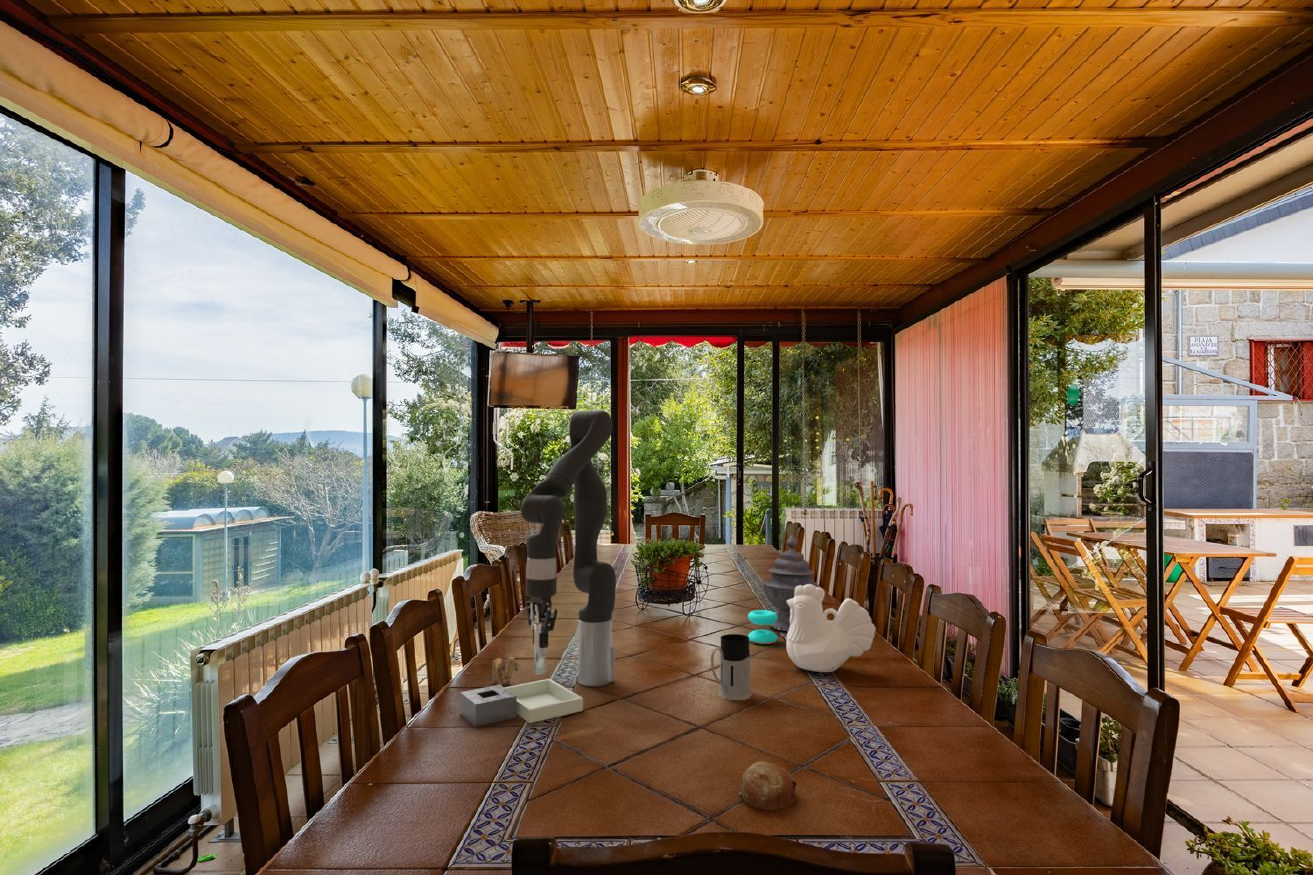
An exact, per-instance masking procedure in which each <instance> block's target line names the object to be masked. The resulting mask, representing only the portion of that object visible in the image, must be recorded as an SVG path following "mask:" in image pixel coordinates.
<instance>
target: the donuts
mask: <svg viewBox="0 0 1313 875" xmlns="http://www.w3.org/2000/svg"><path fill="white" fill-rule="evenodd" d="M747 618H748V620H749V621H750V623H752V624H754V625H761V626H769V625H770V624H773V623H775V622H776V621H777V619H778V613H776V612H774V611H772V610H766V609H757V610H752V611H750V612H749V613H748V615H747ZM747 636H748V637H749V640H750V641H754V642H761V643H766V642H774V641H776V640H777V639H779V637H778V635H777V633H775V632H774V631H773V630H770V629H755V630H752V631H750V632H749V633H748V635H747ZM750 641H749V642H750ZM777 641H778V640H777Z"/></svg>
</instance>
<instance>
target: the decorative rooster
mask: <svg viewBox="0 0 1313 875" xmlns="http://www.w3.org/2000/svg"><path fill="white" fill-rule="evenodd" d="M825 592H826V591H825V590H824V589H823V588H822V587H820V586H819V587H816V586H814V585H812V584H807V585H804V586H802V585H799V586H797V587H796V588H795V596H794V598H792V599H789V600H787V601H786V602H787V604H788V605H789V607H790V624H791V625H790V628H789V631H788V632H787V634H786V637H785V638H786V643H785V644H786V646H785V647H786V652H787V654H788V657H789V658H790V660H791V662H793V664H795V665H796V666H797V667H798V668H800V669H803V670H805V671H807V670H808V671H812V672H818V673H823V672H825V673H824V674H827V673H826V672H832V671H834V672H835V671H836V670H838V669H839V668H840V667H841V666H842V665H843V664H844V663H845V662H846V661H847V660H848V659H849V658H850V657H852V658H853V657H855V658H857V657H858V658H859V657H861V656H862V655H863V654H864V652H867V651H869V650H870V649H871V647H872V644H873V640H874V638H875V634H876V633H875V632H876V626H875V625H874V623H872V618H871V616H870V613H869V612H868V610H867V609H865V608H863V607H862V606H861V605H860V604H859V602H857V601H855V600H853V599H852V598H849V597H848V598H845V599H844V600H843V602H842V603H841V605H840V606H839V608H838V610H835V609H834V608H832V607H831V608H826V609H825V610H823V604H822V602H823V600H824V598H825V594H826V593H825ZM829 614H832V615H833V616H834V618H833V619H832V620H831V619H828V615H829ZM832 673H833V672H832Z"/></svg>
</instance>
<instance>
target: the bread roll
mask: <svg viewBox="0 0 1313 875" xmlns="http://www.w3.org/2000/svg"><path fill="white" fill-rule="evenodd" d="M797 785H798V784H797V781H796V780H795V779H794V778H793V776H792V775H791V773H790V772H789V771H787V770H786V769H785V768H784V767H782V766H780V765H778V764H774V763H769V762H766V761H757V762H754V763H752V764H751V765H750V766H749V767H748V768H747V769H745V771H744V773H743V775H742V780H741V789H740V791H739V796H741V797H742V799H743V801H744V802H746V803H747V805H749V806H750V807H752V808H753V809H758V810H763V811H775V809H776V810H778V809H777V808H781V809H785V808H788V807H789V806H790V805H792V804H793V803H792V802H794V801H795V799H796V796H797V795H796V786H797ZM791 803H792V804H791ZM787 806H788V807H787Z"/></svg>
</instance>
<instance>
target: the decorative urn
mask: <svg viewBox="0 0 1313 875" xmlns="http://www.w3.org/2000/svg"><path fill="white" fill-rule="evenodd" d="M785 543H786V546H787V547H789V550H784V551H783V552H781V553H780V554H779V557H778V558H776V559H775V560H773V567H771V568H769V569H768V570H767V571H768V572H769V573H771V578H767V579H765V580H763V583H762V584H763V589H764V592H765V594H766V595H765V596H766V597H767V598H768V600H769V602H771V604H772V606H774V607H776V608H777V609H778V610H779V611H778V613H777V616H778V619H777V621H776V622H775V623H773V624H770V625H771V626H772V627H774V628H780V629H786V630H789V628H790V625H791V624H790V607H789V605H788V604H787V602H786V601H787V600H789V599H792V598H794V596H795V588H796V587H797V586H799V585H802V586H804V585H807V584H812V585H814V586H816V587H820V585H819V584H818V583H817V582H815V581H812V576H813V575H814V574H815V572H814V570H811V569H810V567H811V566H810V563H809V561H808V560H806V559H805V558H804V554H803V553H802V552H799V551H796V550H795V548H797V547H798V545H799V542H798V540H797V538H796V536H795V535H794V534H793V533H791V534H790V535H789V538H786V541H785Z"/></svg>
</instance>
